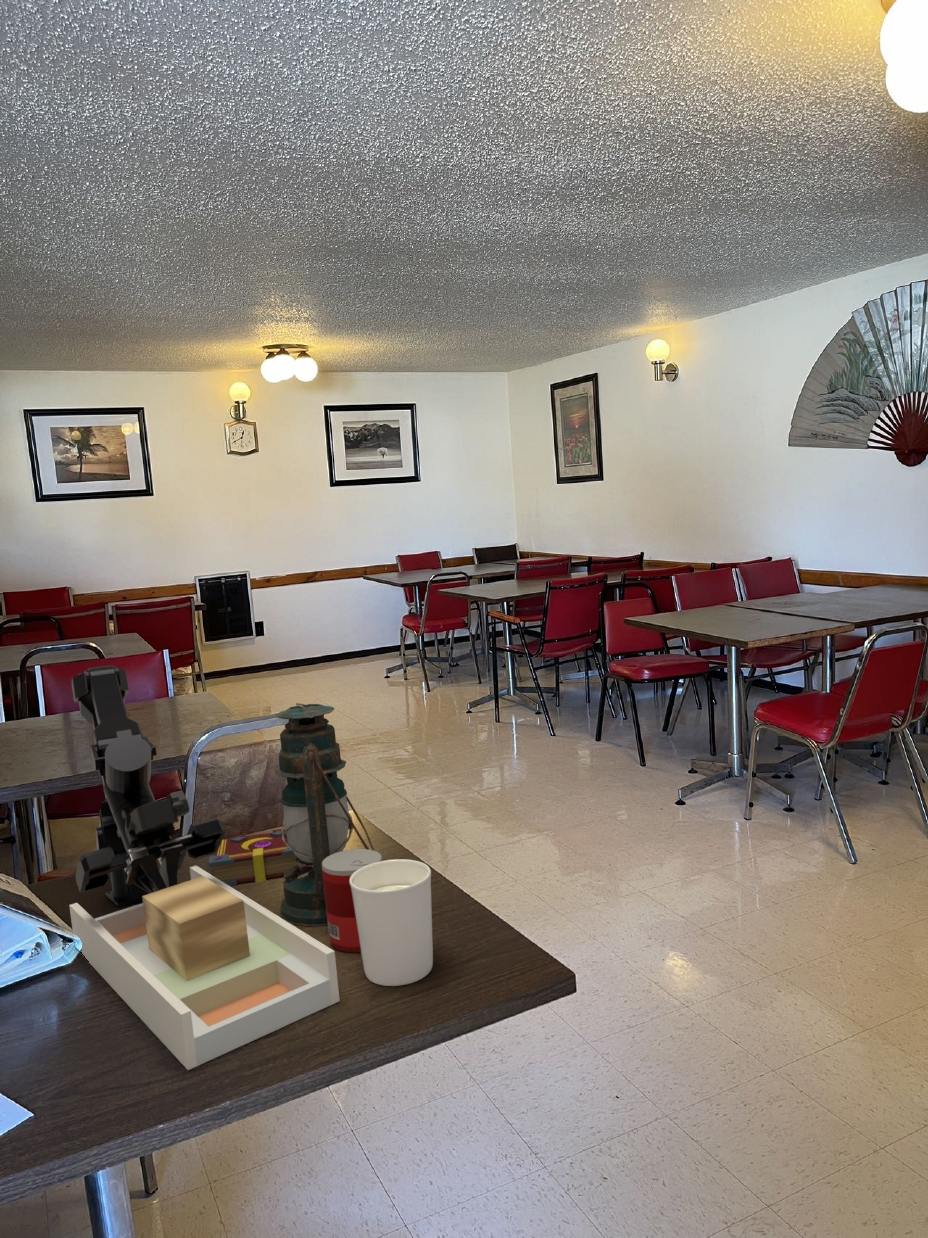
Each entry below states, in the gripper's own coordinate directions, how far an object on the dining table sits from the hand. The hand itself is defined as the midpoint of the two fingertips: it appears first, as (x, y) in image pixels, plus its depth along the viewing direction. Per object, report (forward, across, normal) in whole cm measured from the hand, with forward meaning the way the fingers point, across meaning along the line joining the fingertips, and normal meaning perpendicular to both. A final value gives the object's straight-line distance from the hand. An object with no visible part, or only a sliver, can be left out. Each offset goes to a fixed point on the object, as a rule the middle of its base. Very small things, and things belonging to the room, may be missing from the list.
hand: (174, 909), depth 116 cm
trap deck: (+8, 0, +2) cm, 8 cm away
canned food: (+14, +19, -4) cm, 24 cm away
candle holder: (+22, +18, -12) cm, 31 cm away
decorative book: (-10, +22, +20) cm, 31 cm away
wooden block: (+7, 0, -2) cm, 7 cm away
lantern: (+5, +22, +4) cm, 23 cm away
